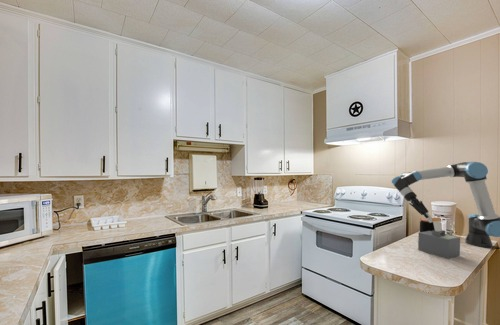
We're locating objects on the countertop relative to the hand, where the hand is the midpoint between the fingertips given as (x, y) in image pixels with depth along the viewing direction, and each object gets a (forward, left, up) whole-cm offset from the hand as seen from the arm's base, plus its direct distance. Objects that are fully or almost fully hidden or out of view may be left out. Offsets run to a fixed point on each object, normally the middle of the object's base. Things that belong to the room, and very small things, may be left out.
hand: (432, 221), depth 168 cm
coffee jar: (-17, -11, -20) cm, 29 cm away
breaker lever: (0, +4, -7) cm, 9 cm away
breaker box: (0, +4, -20) cm, 21 cm away
